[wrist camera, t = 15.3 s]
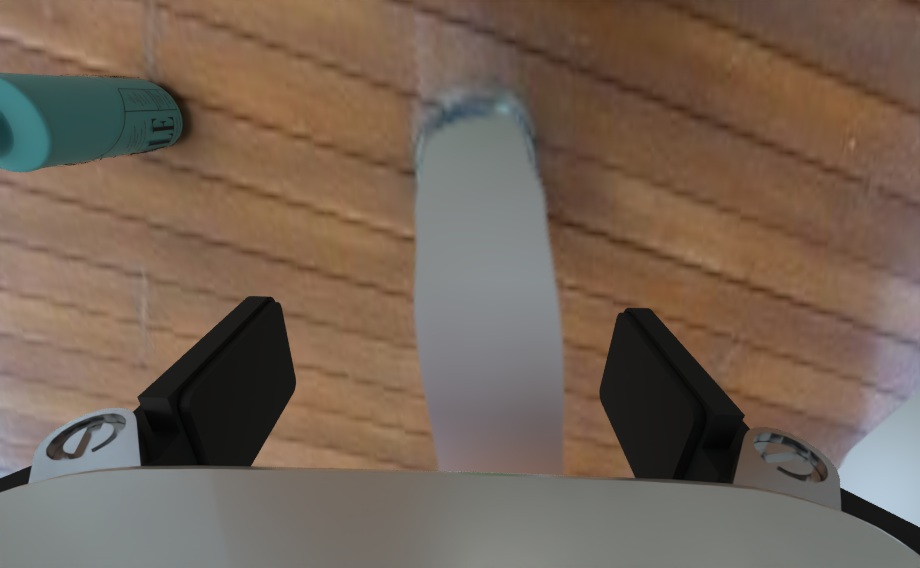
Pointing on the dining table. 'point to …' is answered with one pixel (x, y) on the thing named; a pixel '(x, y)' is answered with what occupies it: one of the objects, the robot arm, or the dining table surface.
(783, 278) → the dining table surface
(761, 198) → the dining table surface
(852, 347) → the dining table surface
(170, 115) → the beverage bottle
